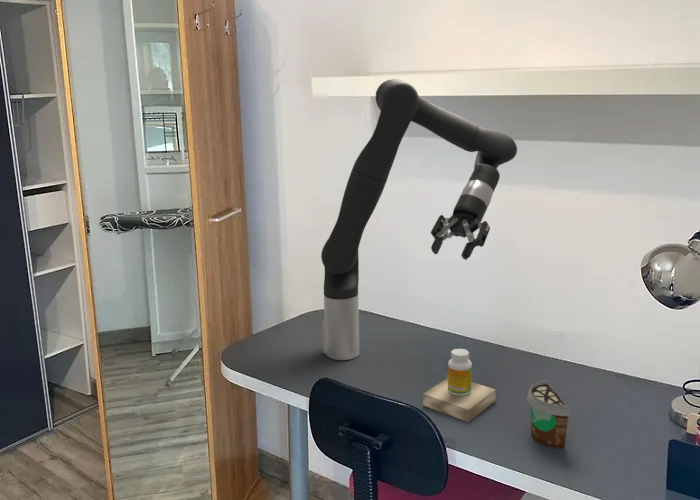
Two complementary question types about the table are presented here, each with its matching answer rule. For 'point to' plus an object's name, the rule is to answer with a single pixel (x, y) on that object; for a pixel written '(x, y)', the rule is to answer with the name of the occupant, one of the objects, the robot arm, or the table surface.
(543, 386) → the food container
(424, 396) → the base block
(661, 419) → the table surface
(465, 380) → the supplement bottle
